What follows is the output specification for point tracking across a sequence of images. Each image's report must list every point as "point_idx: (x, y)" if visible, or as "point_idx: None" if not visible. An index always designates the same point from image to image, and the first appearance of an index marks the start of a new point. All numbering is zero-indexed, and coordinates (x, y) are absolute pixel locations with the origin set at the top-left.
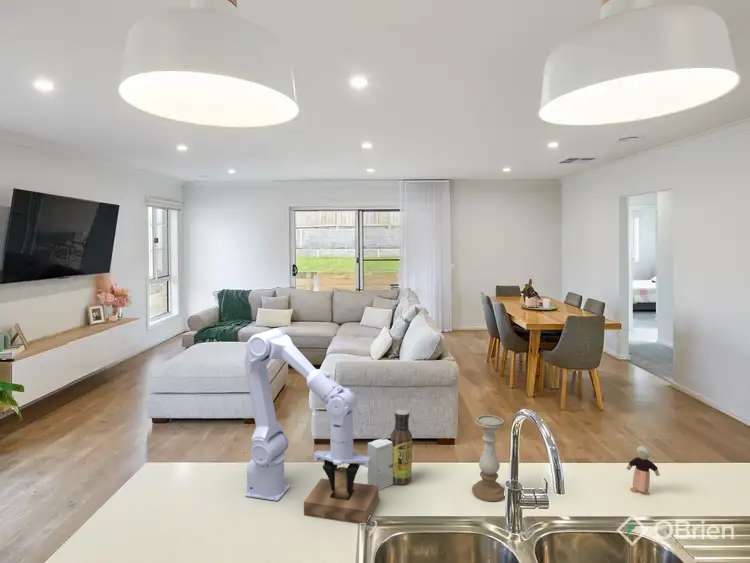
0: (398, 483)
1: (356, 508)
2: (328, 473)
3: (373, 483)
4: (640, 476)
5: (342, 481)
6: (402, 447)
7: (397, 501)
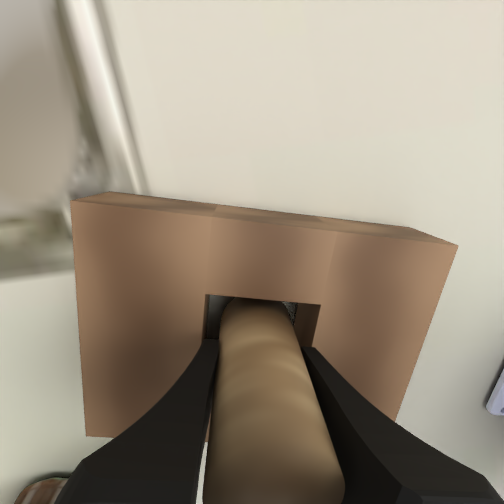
0: (55, 480)
1: (137, 218)
2: (395, 438)
3: None
4: None
5: (249, 382)
6: None
7: (29, 378)
